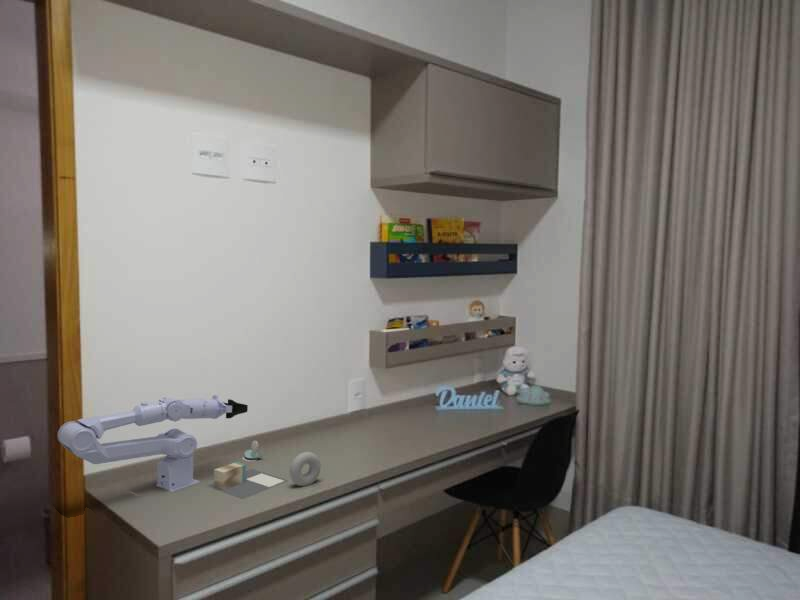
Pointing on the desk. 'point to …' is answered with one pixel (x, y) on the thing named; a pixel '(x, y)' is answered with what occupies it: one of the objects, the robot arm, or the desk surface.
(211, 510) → the desk surface
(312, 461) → the donut
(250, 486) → the mat
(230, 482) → the card box
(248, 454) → the pacifier
